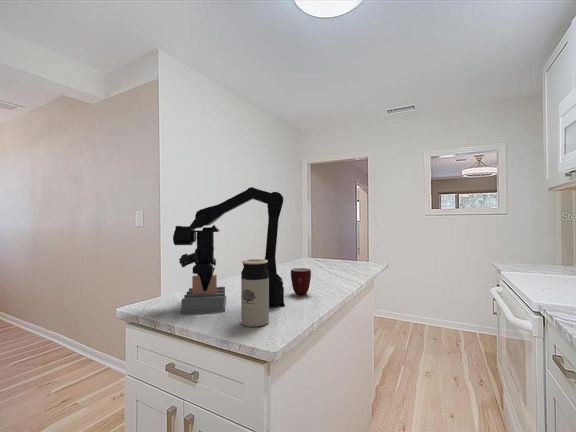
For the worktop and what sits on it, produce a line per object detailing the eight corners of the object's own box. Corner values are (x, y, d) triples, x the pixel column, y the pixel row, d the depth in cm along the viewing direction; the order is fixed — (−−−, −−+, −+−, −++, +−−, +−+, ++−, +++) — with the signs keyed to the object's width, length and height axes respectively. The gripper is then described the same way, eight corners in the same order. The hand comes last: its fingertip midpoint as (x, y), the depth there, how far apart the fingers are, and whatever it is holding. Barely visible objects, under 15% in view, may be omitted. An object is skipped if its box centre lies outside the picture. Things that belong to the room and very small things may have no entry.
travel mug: (255, 316, 90) (255, 258, 90) (274, 321, 85) (274, 260, 85) (235, 323, 84) (235, 261, 84) (254, 329, 79) (254, 263, 79)
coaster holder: (226, 298, 110) (226, 286, 110) (224, 311, 94) (224, 297, 94) (187, 300, 107) (187, 288, 108) (179, 314, 92) (179, 299, 92)
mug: (312, 299, 109) (312, 272, 109) (291, 299, 109) (291, 272, 109) (310, 292, 120) (309, 268, 120) (290, 292, 120) (290, 268, 120)
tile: (216, 297, 103) (216, 274, 103) (216, 298, 100) (216, 275, 101) (193, 298, 101) (193, 275, 101) (192, 300, 99) (192, 276, 99)
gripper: (185, 243, 109) (185, 285, 109) (175, 248, 91) (175, 298, 90) (216, 242, 111) (216, 283, 111) (212, 247, 93) (212, 296, 92)
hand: (205, 289), depth 101 cm, fingers closed on tile, 2 cm apart
